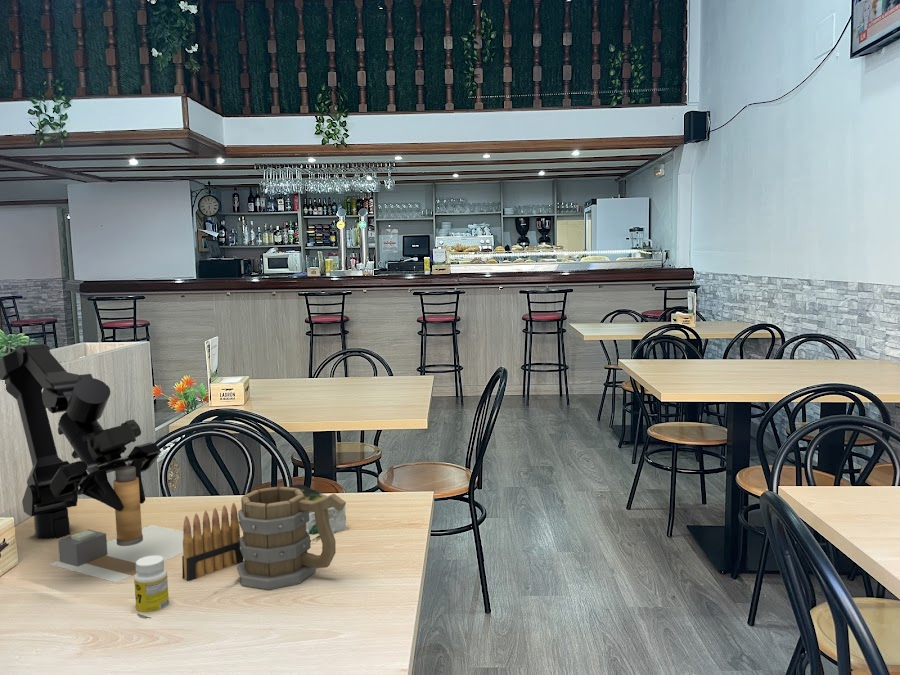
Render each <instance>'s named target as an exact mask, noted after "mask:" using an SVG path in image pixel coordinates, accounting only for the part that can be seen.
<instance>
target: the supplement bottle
mask: <svg viewBox="0 0 900 675" xmlns="http://www.w3.org/2000/svg"><path fill="white" fill-rule="evenodd" d="M164 567H165V561H164V559H163V557H162V556H157V555H153V556H146V557H143V558H140V559H139V560H137V561H136V572H137V573H136V574H135V575H134V577H133V579H134V594H135V595H134V596H135V608H136V610H137V611H138V612H141V613H150V612H156V611H159V610H162V609H163V608H165V607H167V606H168V605H169V603H170V599H169V583H168V581H169V580H168V571H167V570H166V568H164ZM136 615H137V616H138V617H139V618H141V619H146V620H147V618H149V619H152V617H150V616H147V615H144V614H140V613H136Z"/></svg>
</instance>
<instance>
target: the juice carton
mask: <svg viewBox="0 0 900 675" xmlns="http://www.w3.org/2000/svg"><path fill="white" fill-rule="evenodd" d="M289 487H290V488H298V489H300V490H301V491H302V493H303V494H304V495H305V500H310V501H317V500H320V499H323V498H325V497H328V496H329V495H326V494H323V493H321V492H319V491H317V490H315V489H312V488H310V487H308V486H306V485H304V484H302V483H301V484H300V483H298V484H294V485H290V486H289ZM327 509H328V517H329V524H330V527H331V530H332V532H333V534H334V533H338V532H341V531H346V530H347V526H346V525H347V516H346V505H345V506H344V508H343V509H342V510H341V511H337V510H336V509H335V508H334V507H332V506H331V507H329V508H327ZM309 520H310V521H309V522H307V523H306V531H307V533H308V534H309V535H311V536H313V535H314V536H315V535H319V533H318V530H317V527H316V520H315V512H312V511H309Z"/></svg>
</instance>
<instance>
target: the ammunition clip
mask: <svg viewBox="0 0 900 675" xmlns="http://www.w3.org/2000/svg"><path fill="white" fill-rule="evenodd" d="M211 515H212V516H211V517H212V518H211V519H212V520H210V516H209V513H208V512H207V510H204V513H203V515H202V516H203V517H202V527H201V521H200V517H199V515H198V513H196V512H195V514H194V518H193V524H192V528H191V523H190V522H191V521H190V519H189V516H187V515H186V516H185V517H184V520H183V530H182V531H183V532H184V533H183V553H182V554H183V555H182V556H181V558H182V559H181V560H182V564H181V565H182V571H181V573H182V580H183V579H184V580H185V581H187V582H190V581H192V580H196V579H197V578H198V577H203V576H205V575H206V574H212V573H214V572H215V571H220V570H223V569H224V568H229V567H232V566H233V565H234V566H237V565H239V564H240V563H242V562H243V561H244V558H243V556H242V553H241V551H240V538H241V530H240V528H241V527H240V524H239V522H238V521H239V516H238V509H237V506H236V503H235V502H233V503H232V505H231V508H230V519H229V511H228V509H227V507H226V504H225V505H223V506H222V509H221V526H220V517H219V512H218V510H217V508H216V507H214V508H213V512H212V514H211ZM229 520H230V521H229ZM211 523H212V524H211ZM201 528H202V529H201ZM191 533H193V539H192V534H191Z"/></svg>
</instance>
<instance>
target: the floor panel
mask: <svg viewBox="0 0 900 675" xmlns="http://www.w3.org/2000/svg"><path fill="white" fill-rule="evenodd" d="M183 533H184V532H183V530H177V529H174V528H169V527H164V526H160V525H154V524H150V525H148V526H145V527H142V534H143V541H142V542H140V543H138V544H135V545H130V546H119V545H117V540H116V539H117V537H116V538H114V539H111V540H108V541H107V553H108V555H105V556H103V557H100V558H98V559H95V560H93V561H90V562H88V563H85V564H83V565H80V566H78V567H77V566H73V565H70V564H66V563H62V562H60V559H59V560H56V561H54V562H51V563H49V565H51V566H55V567H58V568H62V569H66V570H68V571H73V572H77V573H80V574H82V575H88V576H90V577H94V578H98V579H102V580H105V581H109V582H112V583H118V582H121V581H124V580H125V579H128V578H130V577H132V576H135V574H136V573H137V572H136V561H137V560H139V559H140V558H143V557H146V556H153V555H157V556H162V557H163V559H164V562H166V561H168V560H170V559H172V558H175V557H177V556H180V555H181V554H183ZM191 534H192V539H193V532H191Z"/></svg>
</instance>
